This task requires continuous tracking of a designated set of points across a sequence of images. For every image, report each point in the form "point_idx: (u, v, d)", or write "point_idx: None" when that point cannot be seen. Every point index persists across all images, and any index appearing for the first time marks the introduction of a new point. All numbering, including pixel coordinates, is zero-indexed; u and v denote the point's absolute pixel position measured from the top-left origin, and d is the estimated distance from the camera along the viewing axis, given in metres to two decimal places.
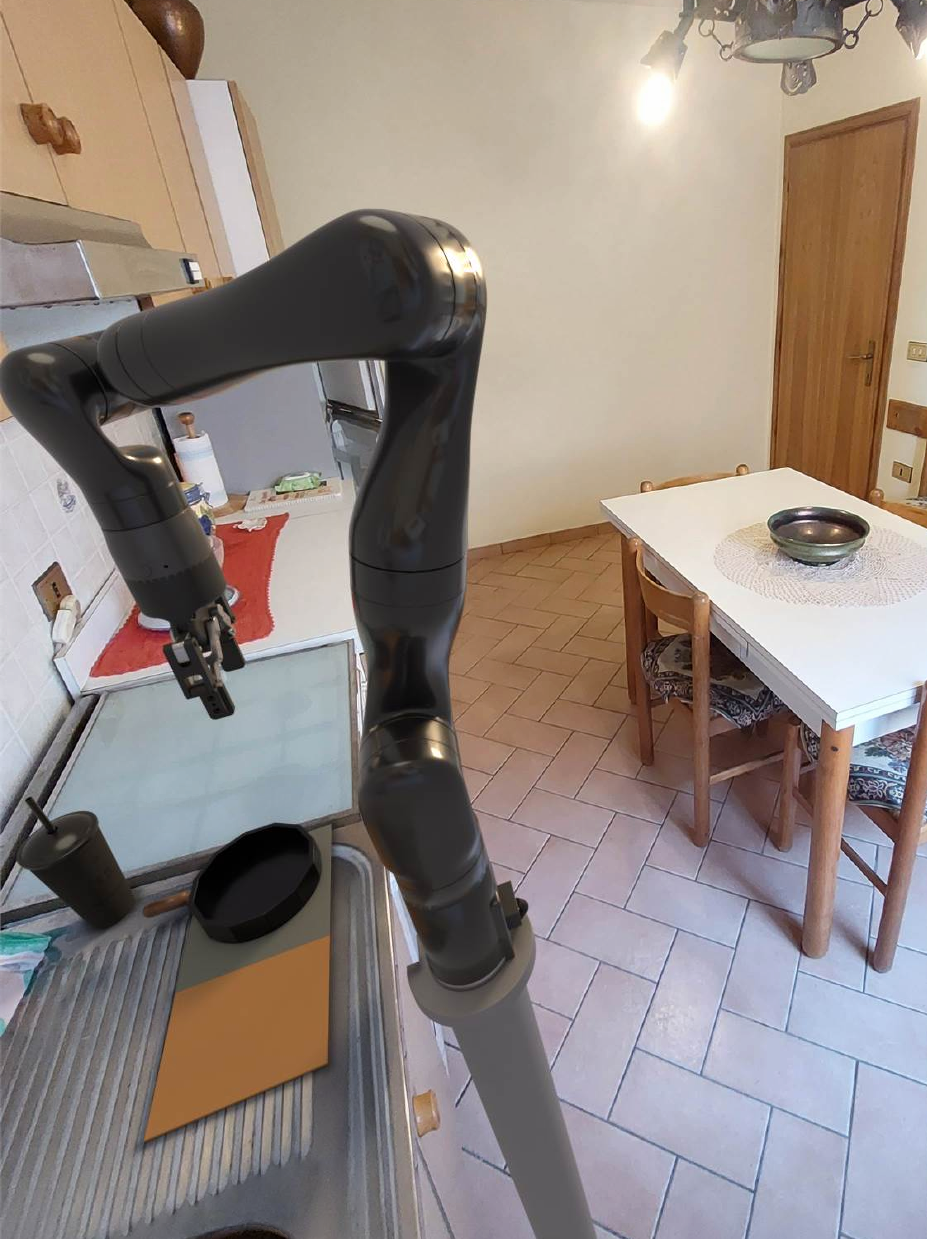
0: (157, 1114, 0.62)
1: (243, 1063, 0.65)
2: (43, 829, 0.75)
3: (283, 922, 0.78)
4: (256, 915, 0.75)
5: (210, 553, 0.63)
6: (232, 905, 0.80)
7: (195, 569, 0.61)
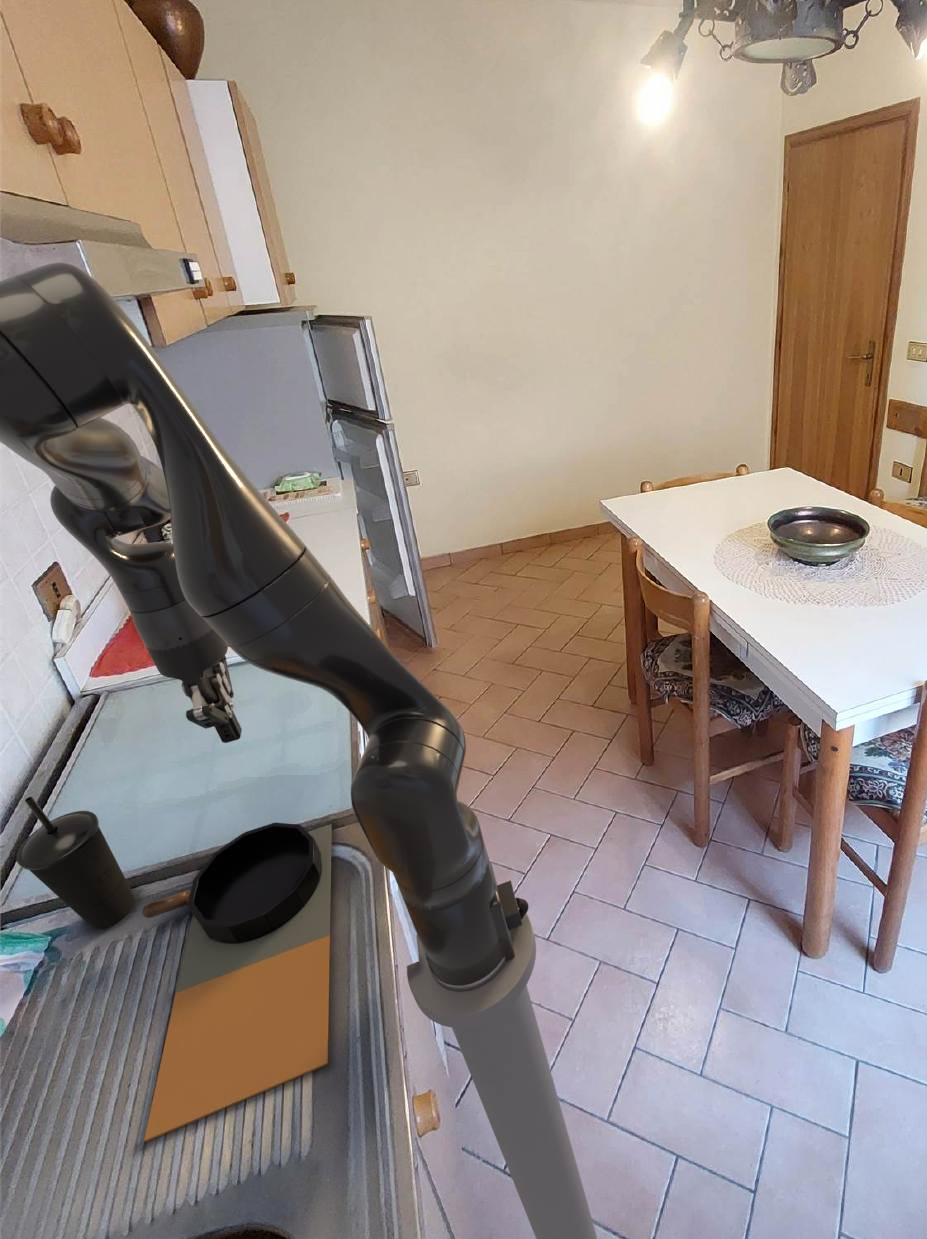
0: (157, 1114, 0.62)
1: (243, 1063, 0.65)
2: (43, 829, 0.75)
3: (283, 922, 0.78)
4: (256, 915, 0.75)
5: None
6: (232, 905, 0.80)
7: (203, 639, 0.77)
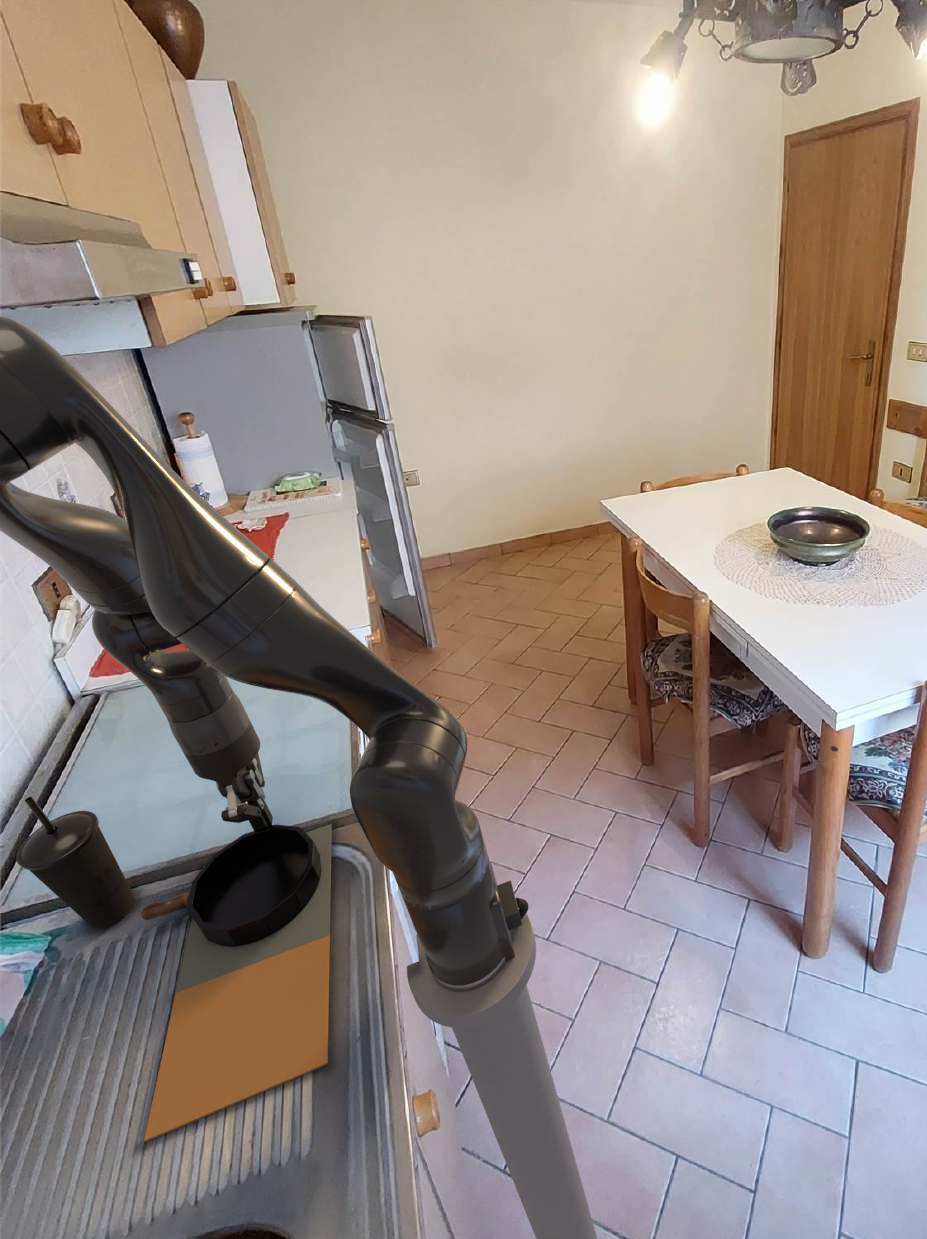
0: (157, 1114, 0.62)
1: (243, 1063, 0.65)
2: (43, 829, 0.75)
3: (282, 925, 0.77)
4: (255, 918, 0.75)
5: (248, 725, 0.80)
6: (231, 907, 0.80)
7: (237, 742, 0.78)
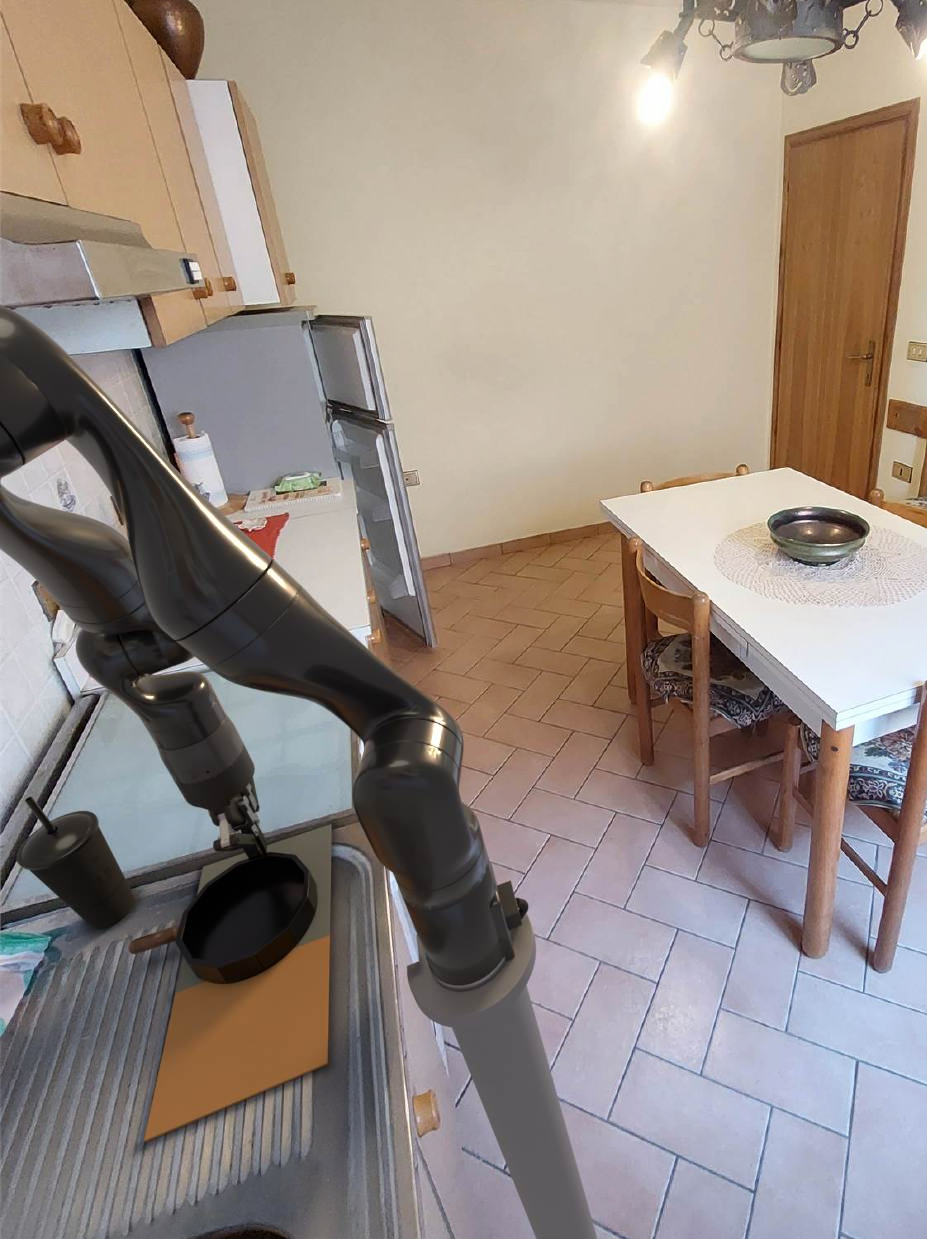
0: (157, 1114, 0.62)
1: (243, 1063, 0.65)
2: (43, 829, 0.75)
3: (275, 961, 0.74)
4: (246, 955, 0.71)
5: (242, 750, 0.76)
6: (222, 941, 0.76)
7: (230, 768, 0.74)
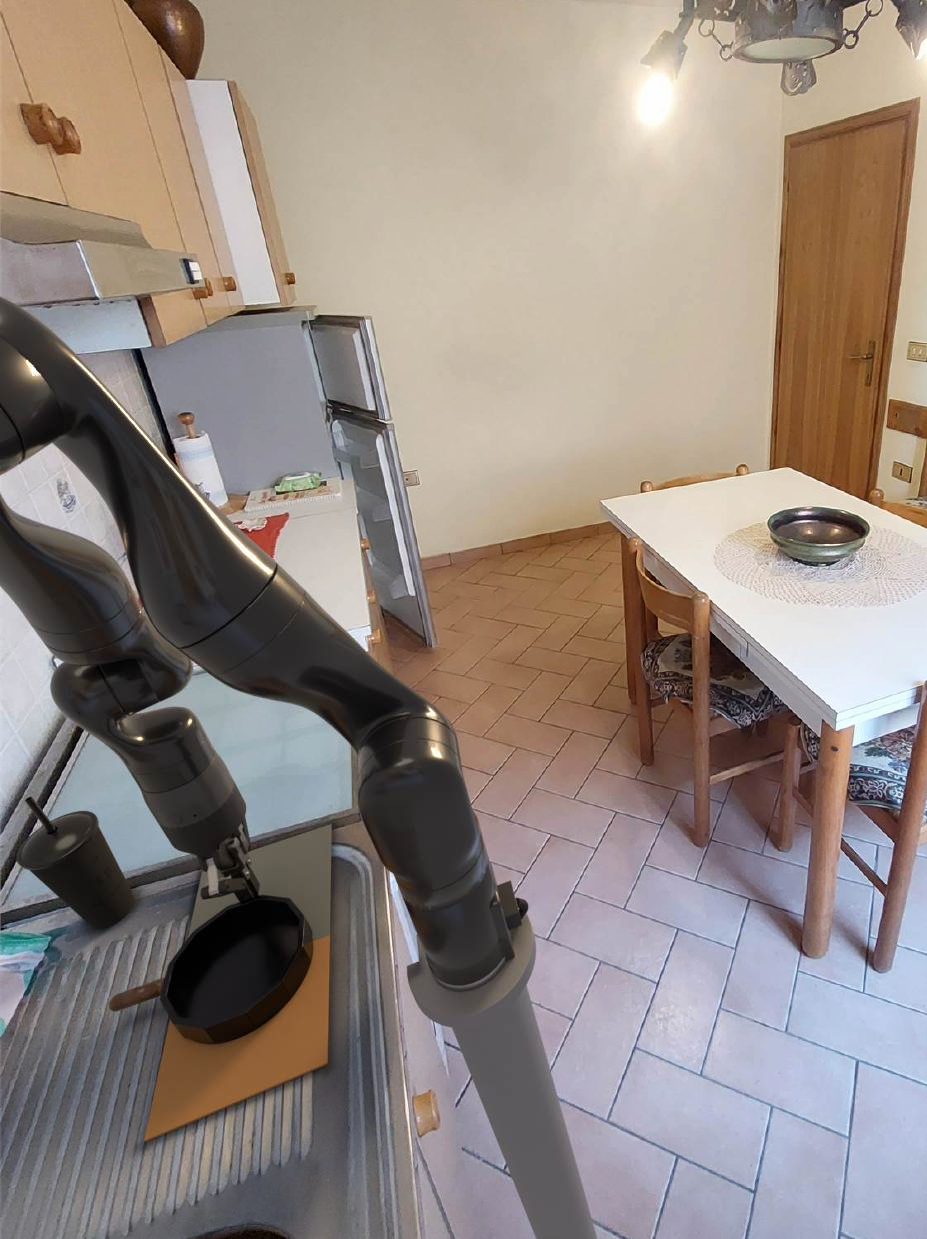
0: (157, 1114, 0.62)
1: (243, 1063, 0.65)
2: (43, 829, 0.75)
3: (267, 1019, 0.68)
4: (236, 1014, 0.66)
5: (232, 790, 0.71)
6: (211, 995, 0.71)
7: (220, 811, 0.69)
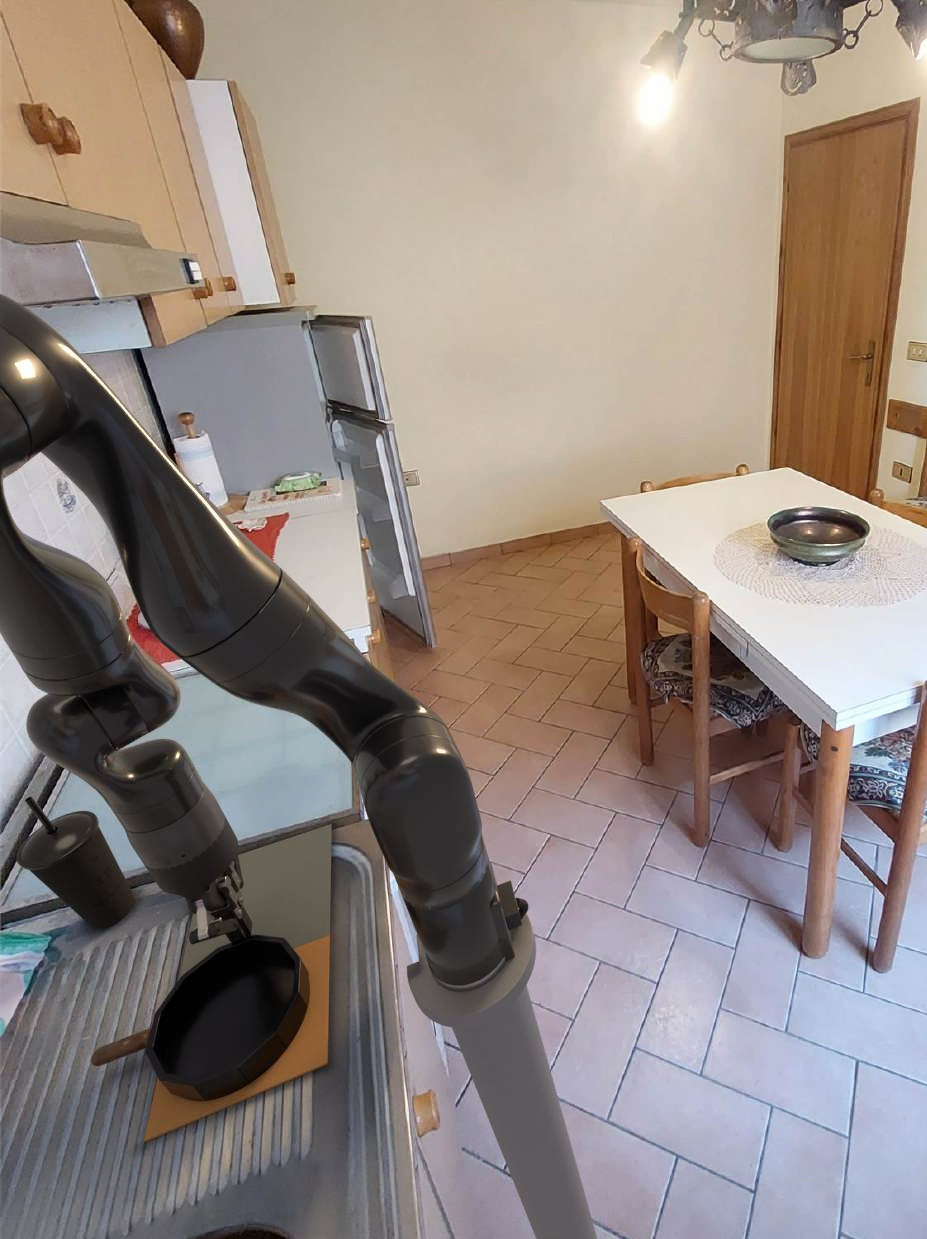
0: (157, 1114, 0.62)
1: None
2: (43, 829, 0.75)
3: (261, 1072, 0.64)
4: (227, 1069, 0.62)
5: (223, 826, 0.67)
6: (201, 1046, 0.66)
7: (210, 849, 0.65)
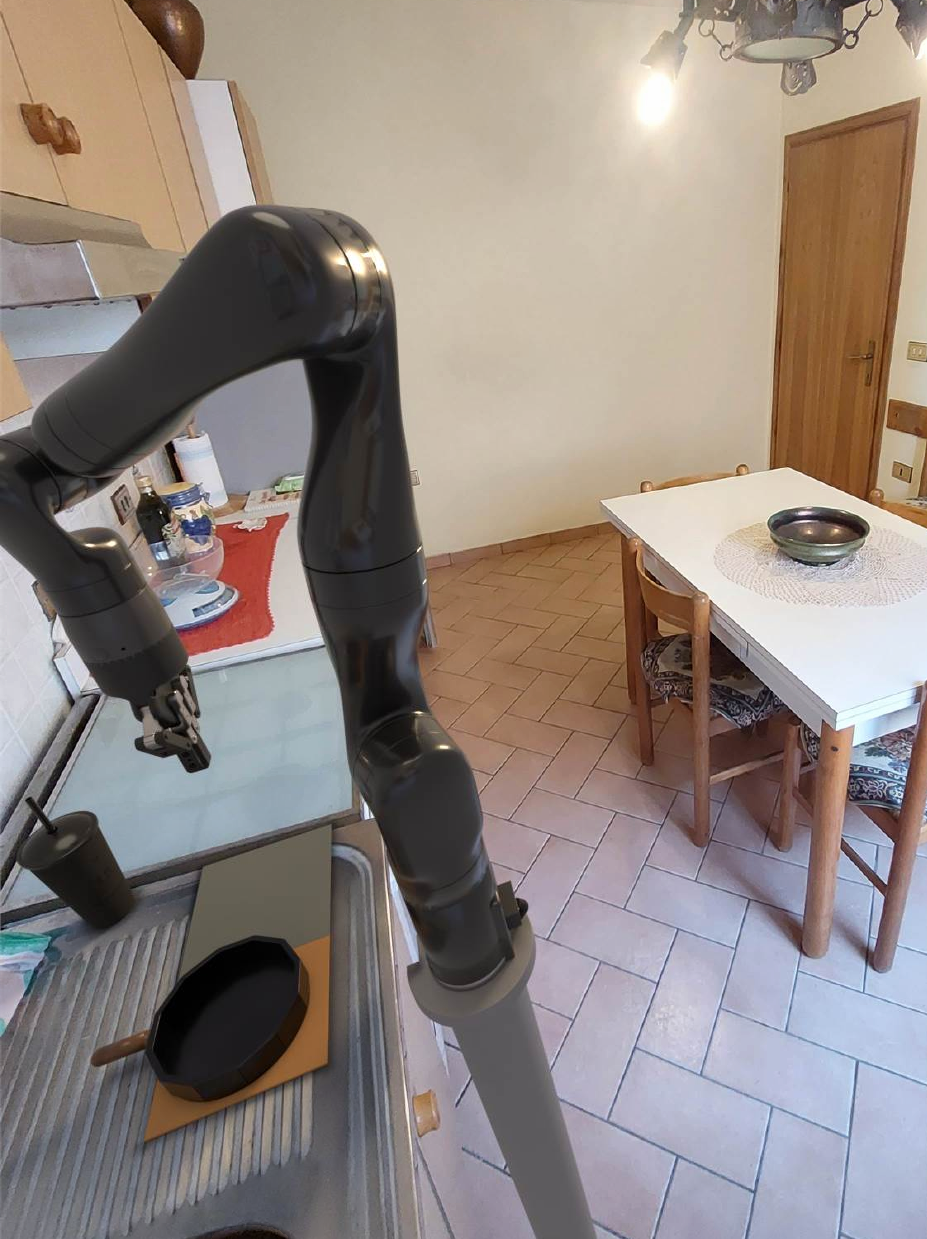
0: (157, 1114, 0.62)
1: None
2: (43, 829, 0.75)
3: (261, 1073, 0.64)
4: (227, 1070, 0.62)
5: (170, 630, 0.63)
6: (201, 1047, 0.66)
7: (153, 648, 0.61)
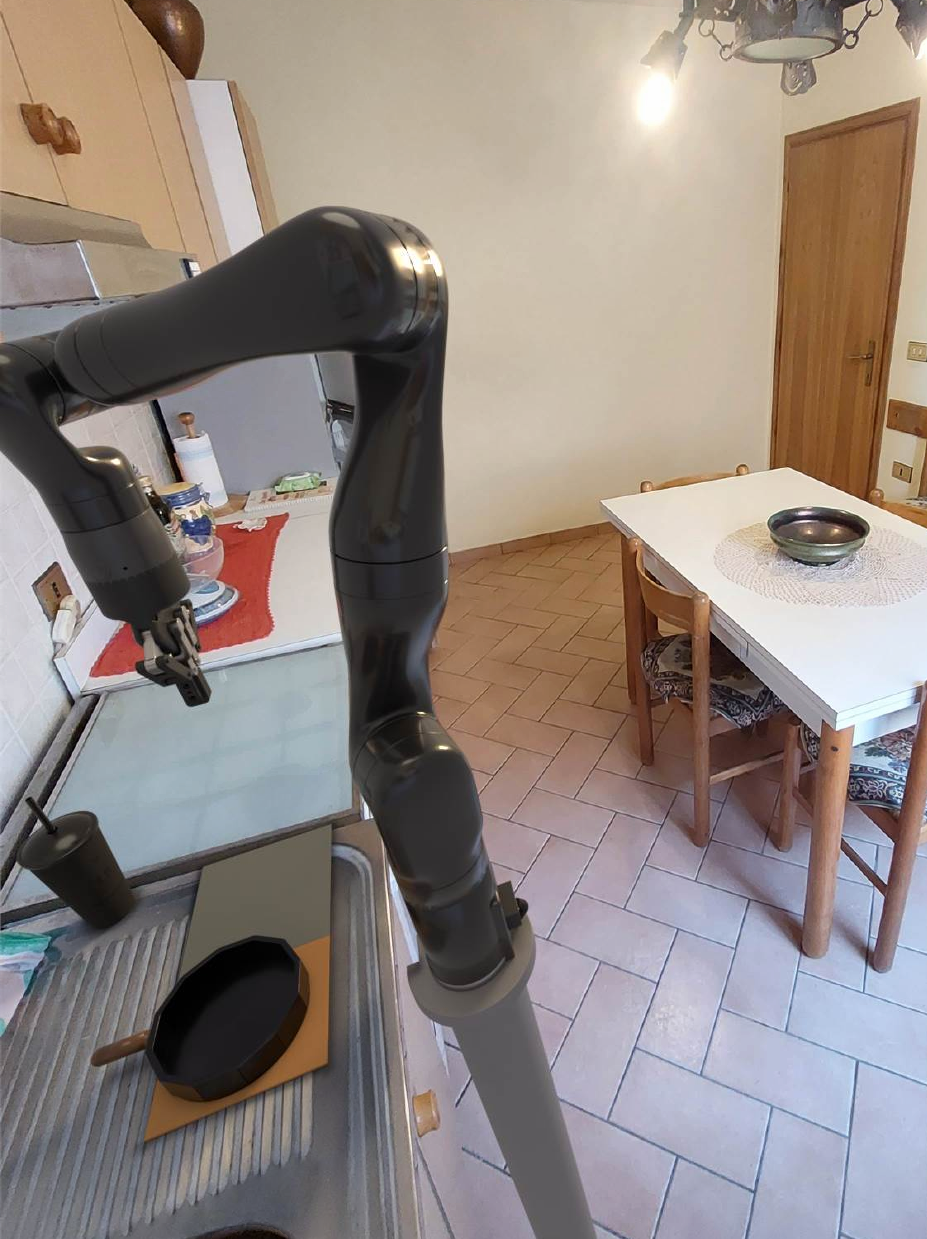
0: (157, 1114, 0.62)
1: None
2: (43, 829, 0.75)
3: (261, 1073, 0.64)
4: (227, 1070, 0.62)
5: (172, 555, 0.63)
6: (201, 1047, 0.66)
7: (156, 571, 0.61)
